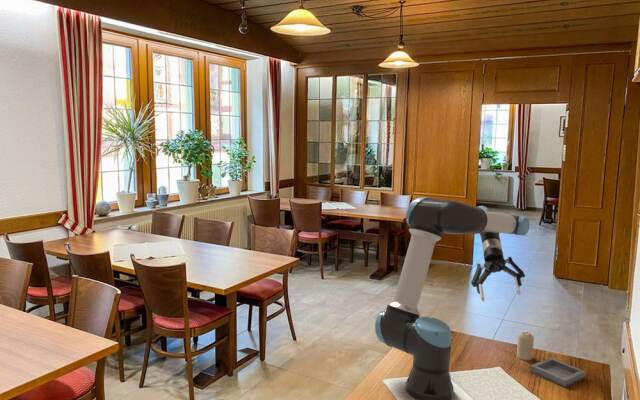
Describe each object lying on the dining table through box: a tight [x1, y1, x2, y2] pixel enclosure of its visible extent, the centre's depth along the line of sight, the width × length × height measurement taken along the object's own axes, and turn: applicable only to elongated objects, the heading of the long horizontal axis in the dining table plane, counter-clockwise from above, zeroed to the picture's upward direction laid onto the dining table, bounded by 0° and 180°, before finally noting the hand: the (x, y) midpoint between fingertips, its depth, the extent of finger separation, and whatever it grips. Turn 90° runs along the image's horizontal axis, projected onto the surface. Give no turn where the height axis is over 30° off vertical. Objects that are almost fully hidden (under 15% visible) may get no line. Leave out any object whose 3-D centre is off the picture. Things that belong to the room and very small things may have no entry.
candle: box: [516, 331, 535, 361], centre depth 186 cm, size 6×6×10 cm
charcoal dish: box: [529, 357, 587, 389], centre depth 173 cm, size 13×13×2 cm
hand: (500, 296), depth 185 cm, fingers open, 13 cm apart
